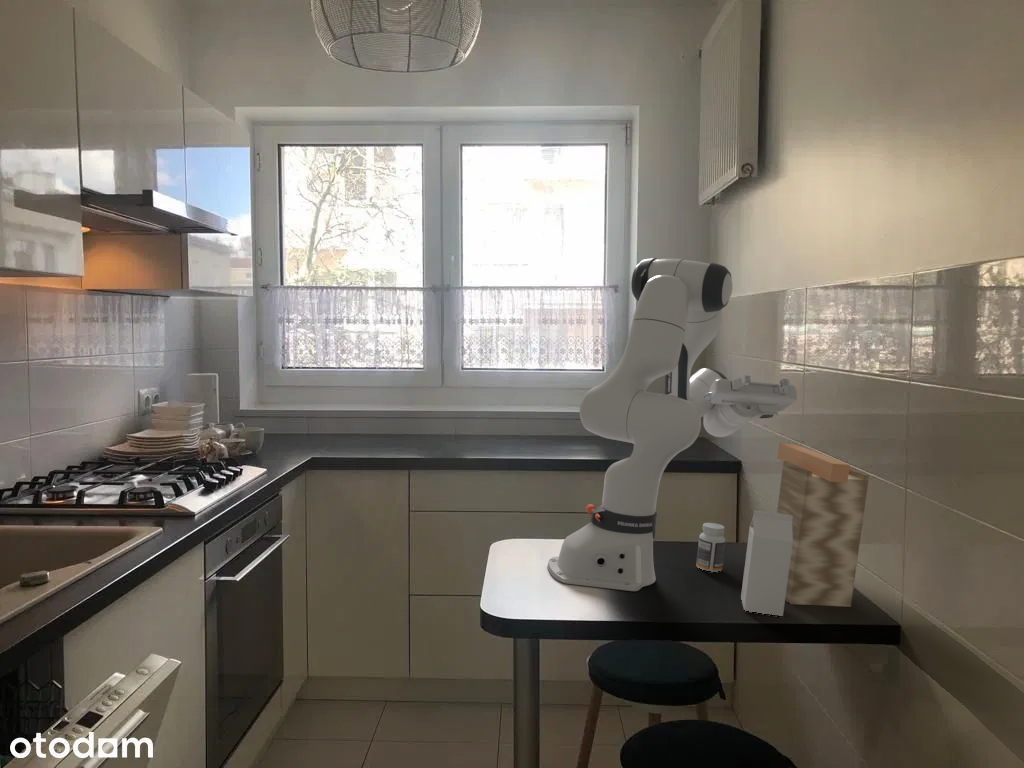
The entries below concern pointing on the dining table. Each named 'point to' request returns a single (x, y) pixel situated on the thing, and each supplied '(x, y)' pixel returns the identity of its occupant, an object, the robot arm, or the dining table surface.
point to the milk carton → (767, 563)
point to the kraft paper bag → (822, 534)
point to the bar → (814, 462)
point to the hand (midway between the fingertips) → (767, 380)
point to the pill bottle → (711, 547)
